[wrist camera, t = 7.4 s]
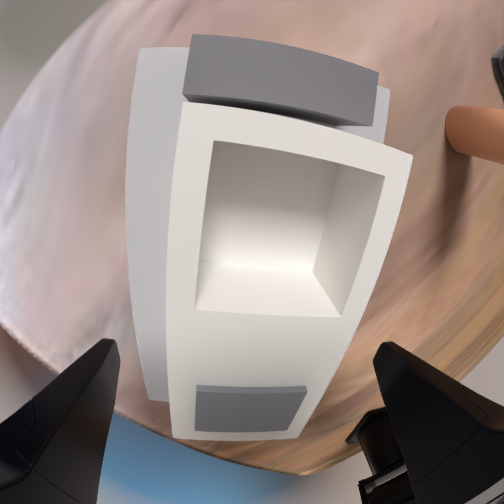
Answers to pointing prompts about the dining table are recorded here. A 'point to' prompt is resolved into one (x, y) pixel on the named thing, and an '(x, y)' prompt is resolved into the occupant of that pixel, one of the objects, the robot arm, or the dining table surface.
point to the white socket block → (268, 265)
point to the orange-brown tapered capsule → (477, 132)
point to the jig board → (158, 195)
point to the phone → (499, 66)
